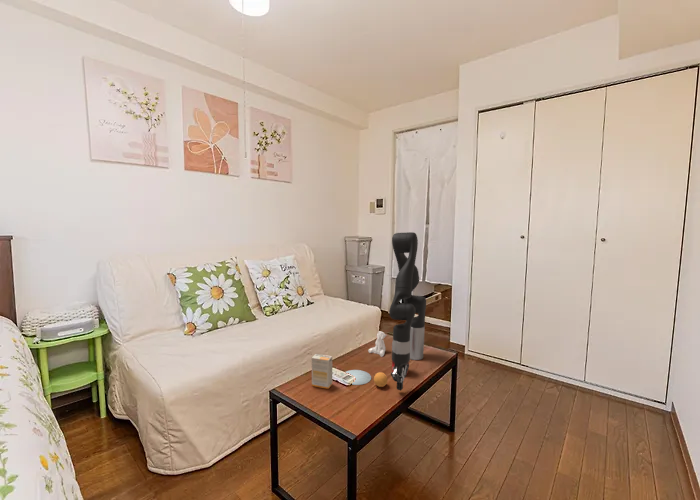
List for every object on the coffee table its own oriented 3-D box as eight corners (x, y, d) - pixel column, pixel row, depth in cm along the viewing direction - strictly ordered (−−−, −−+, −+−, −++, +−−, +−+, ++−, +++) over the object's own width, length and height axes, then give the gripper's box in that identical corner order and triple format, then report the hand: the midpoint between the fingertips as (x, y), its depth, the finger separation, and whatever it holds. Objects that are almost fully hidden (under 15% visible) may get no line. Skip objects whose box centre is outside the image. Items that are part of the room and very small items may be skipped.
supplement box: (332, 384, 144) (333, 355, 143) (328, 389, 140) (328, 360, 138) (315, 381, 147) (316, 353, 146) (311, 386, 142) (311, 357, 141)
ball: (378, 381, 148) (378, 368, 147) (389, 385, 144) (390, 372, 144) (371, 386, 143) (371, 373, 142) (383, 391, 139) (383, 377, 139)
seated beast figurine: (367, 352, 179) (367, 331, 178) (375, 347, 186) (376, 327, 185) (382, 357, 173) (382, 335, 172) (390, 352, 180) (390, 331, 179)
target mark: (352, 367, 161) (352, 367, 161) (376, 375, 153) (376, 375, 153) (335, 378, 149) (335, 378, 149) (360, 388, 141) (360, 387, 141)
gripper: (400, 343, 144) (398, 380, 145) (385, 352, 133) (384, 393, 135) (415, 347, 139) (414, 385, 141) (402, 357, 129) (400, 399, 130)
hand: (399, 389), depth 138 cm, fingers closed
